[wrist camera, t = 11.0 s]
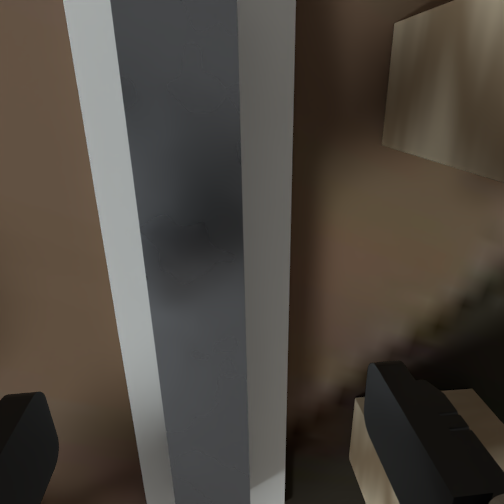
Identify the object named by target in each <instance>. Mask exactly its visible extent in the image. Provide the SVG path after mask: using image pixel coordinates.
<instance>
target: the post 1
mask: <svg viewBox="0 0 504 504" xmlns="http://www.w3.org/2000/svg"><path fill="white" fill-rule="evenodd" d="M382 145H383V146H386V147H389V148H392V149H396V150H399V151H402V152H405V153H409V154H412V155H415V156H418V157H422V158H425V159H428V160H431V161H435V162H438V163H441V164H444V165H448V166H451V167H454V168H457V169H461V170H464V171H467V172H470V173H474V174H477V175H480V176H484V177H487V178H490V179H493V180H497V181H500V182H503V183H504V0H453V1H451V2H448V3H446V4H443V5H440V6H438V7H435V8H433V9H430V10H427V11H425V12H422V13H420V14H417V15H414V16H412V17H409V18H407V19H404V20H401V21H399V22H396V23H394V33H393V42H392V52H391V61H390V71H389V81H388V90H387V100H386V109H385V119H384V128H383V138H382Z"/></svg>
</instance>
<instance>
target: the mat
mask: <svg viewBox="0 0 504 504" xmlns="http://www.w3.org/2000/svg"><path fill="white" fill-rule="evenodd" d="M63 2H64V8H65V14H66V20H67V26H68V32H69V38H70V44H71V50H72V56H73V62H74V69H75V75H76V81H77V87H78V93H79V99H80V105H81V111H82V117H83V123H84V129H85V135H86V141H87V147H88V153H89V159H90V165H91V171H92V177H93V183H94V189H95V195H96V201H97V207H98V213H99V219H100V225H101V231H102V237H103V243H104V249H105V255H106V261H107V267H108V273H109V279H110V285H111V291H112V297H113V303H114V309H115V315H116V321H117V327H118V333H119V339H120V345H121V351H122V357H123V364H124V370H125V376H126V382H127V388H128V394H129V400H130V406H131V412H132V418H133V424H134V430H135V436H136V442H137V448H138V454H139V460H140V466H141V472H142V478H143V484H144V490H145V496H146V502H147V504H175V497H174V490H173V482H172V474H171V466H170V459H169V451H168V443H167V436H166V428H165V420H164V412H163V405H162V397H161V389H160V382H159V374H158V366H157V358H156V351H155V343H154V335H153V328H152V320H151V312H150V304H149V297H148V289H147V281H146V273H145V266H144V258H143V250H142V243H141V235H140V227H139V219H138V212H137V204H136V196H135V189H134V181H133V173H132V165H131V158H130V150H129V142H128V135H127V127H126V119H125V111H124V104H123V96H122V88H121V80H120V73H119V65H118V57H117V50H116V42H115V34H114V26H113V19H112V11H111V3H110V0H63ZM237 15H238V53H239V91H240V129H241V167H242V204H243V242H244V280H245V318H246V356H247V394H248V431H249V469H250V504H284V502H285V458H286V414H287V370H288V326H289V283H290V239H291V195H292V151H293V107H294V64H295V20H296V0H237Z"/></svg>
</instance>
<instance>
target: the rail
mask: <svg viewBox="0 0 504 504" xmlns="http://www.w3.org/2000/svg"><path fill="white" fill-rule="evenodd" d="M110 3H111V11H112V19H113V26H114V34H115V42H116V50H117V57H118V65H119V73H120V80H121V88H122V96H123V104H124V111H125V119H126V127H127V135H128V142H129V150H130V158H131V165H132V173H133V181H134V189H135V196H136V204H137V212H138V219H139V227H140V235H141V243H142V250H143V258H144V266H145V273H146V281H147V289H148V297H149V304H150V312H151V320H152V328H153V335H154V343H155V351H156V358H157V366H158V374H159V382H160V389H161V397H162V405H163V412H164V420H165V428H166V436H167V443H168V451H169V459H170V466H171V474H172V482H173V490H174V497H175V504H250V469H249V431H248V394H247V356H246V318H245V280H244V242H243V204H242V167H241V129H240V91H239V53H238V15H237V0H110Z"/></svg>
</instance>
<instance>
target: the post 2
mask: <svg viewBox="0 0 504 504" xmlns="http://www.w3.org/2000/svg"><path fill="white" fill-rule="evenodd" d="M441 392H443V393H444V394H445V395H446V397H447V398H448V399H449V400H450V402H451V403H452V404H453V406H454V407H455V408H456V410H457V411H458V415H461V416H462V418H463V419H464V420H465V422H466V423H467V424H468V426H469V429H470V430H472V431H473V432H474V433H475V435H476V436H477V437H478V439H479V440H480V441H481V443H482V444H483V445H484V447H485V448H486V449H487V451H488V452H489V453H490V455H491V456H492V457H493V458H494V460H495V461H496V462H497V464H498V465H499V466H500V468H501V469H502V470H503V472H504V424H503V423H502V422H501V421H500V420H499V419H498V417H497V416H496V415H495V414H494V413H493V412H492V411H491V409H490V408H489V407H488V406H487V405H486V404H485V403H484V402H483V400H482V399H481V398H480V397H479V396H478V395H477V394H476V392H475V391H474V390H473V389H460V390H448V391H441ZM364 401H365V397H360V398H355V405H354V415H353V424H352V434H351V443H350V453H349V459H350V462H351V465H352V467H353V470H354V473H355V475H356V478H357V481H358V483H359V486H360V489H361V491H362V494H363V497H364V499H365V502H366V504H399V501H398V499H397V497H396V495H395V493H394V490H393V488H392V486H391V484H390V481H389V479H388V477H387V475H386V473H385V470H384V468H383V466H382V464H381V462H380V459H379V457H378V455H377V453H376V450H375V448H374V446H373V444H372V442H371V439H370V437H369V435H368V432H367V429H366V425H365V420H364Z"/></svg>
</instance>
